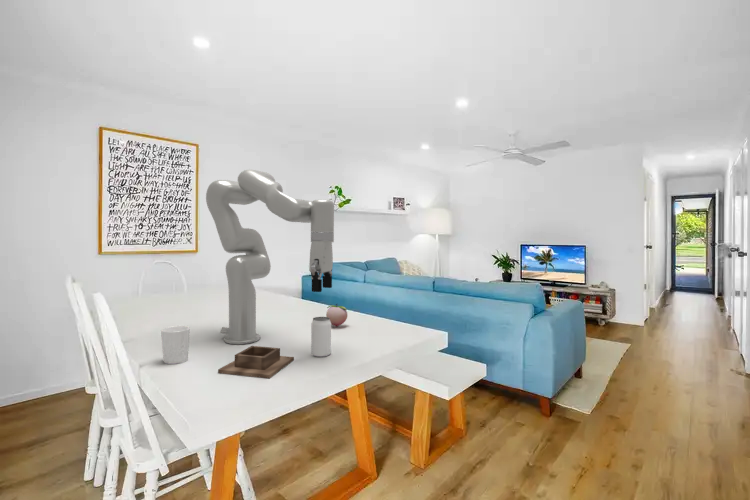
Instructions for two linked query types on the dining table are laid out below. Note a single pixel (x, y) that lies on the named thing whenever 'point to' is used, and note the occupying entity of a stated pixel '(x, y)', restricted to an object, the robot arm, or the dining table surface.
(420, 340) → the dining table surface
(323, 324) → the can
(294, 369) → the dining table surface
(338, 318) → the decorative fruit
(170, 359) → the white cup
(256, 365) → the box
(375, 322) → the dining table surface
